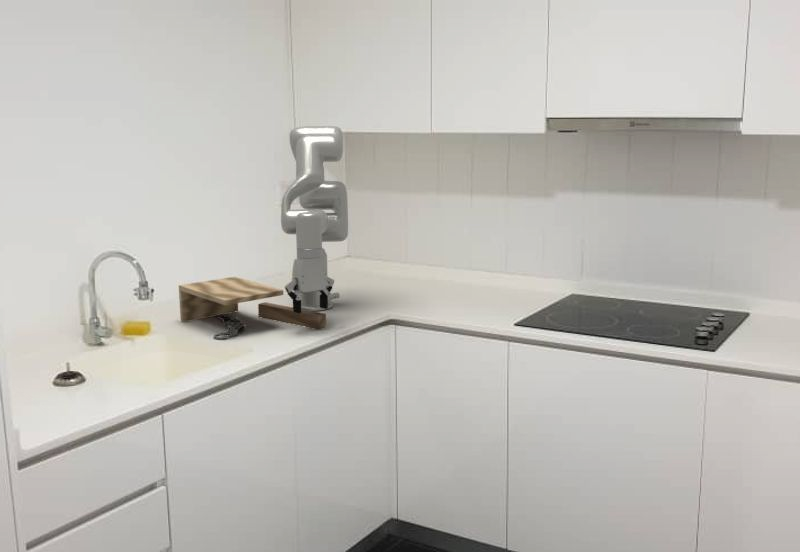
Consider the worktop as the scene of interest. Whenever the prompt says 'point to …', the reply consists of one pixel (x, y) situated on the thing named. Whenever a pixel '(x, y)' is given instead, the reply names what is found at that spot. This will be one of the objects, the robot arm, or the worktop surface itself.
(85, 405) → the worktop surface
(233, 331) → the grey crescent piece
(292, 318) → the batten
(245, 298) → the riser
